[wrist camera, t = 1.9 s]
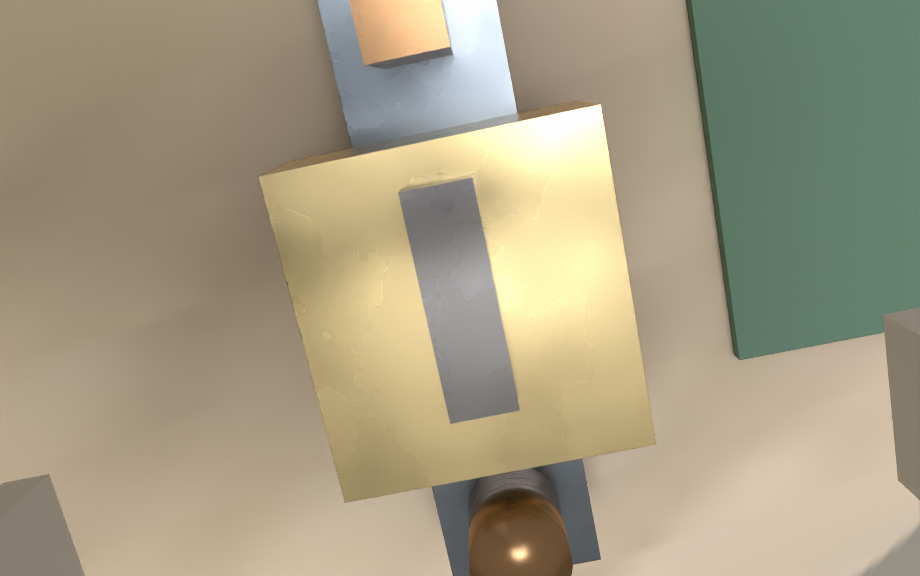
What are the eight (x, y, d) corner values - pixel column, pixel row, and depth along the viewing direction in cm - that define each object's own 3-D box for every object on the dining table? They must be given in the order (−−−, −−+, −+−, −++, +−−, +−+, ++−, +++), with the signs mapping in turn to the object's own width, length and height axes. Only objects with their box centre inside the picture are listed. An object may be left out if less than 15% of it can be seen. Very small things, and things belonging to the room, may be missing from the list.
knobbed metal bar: (327, -41, 28) (253, -108, 18) (474, -74, 27) (480, -161, 18) (456, 518, 33) (453, 703, 23) (582, 494, 32) (632, 672, 23)
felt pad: (681, -38, 28) (686, -40, 27) (986, -105, 27) (997, -109, 26) (734, 354, 31) (739, 360, 30) (1007, 302, 30) (1018, 306, 30)
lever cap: (294, 159, 25) (250, 180, 20) (576, 100, 24) (606, 105, 19) (364, 434, 27) (340, 517, 22) (624, 384, 26) (663, 457, 21)
